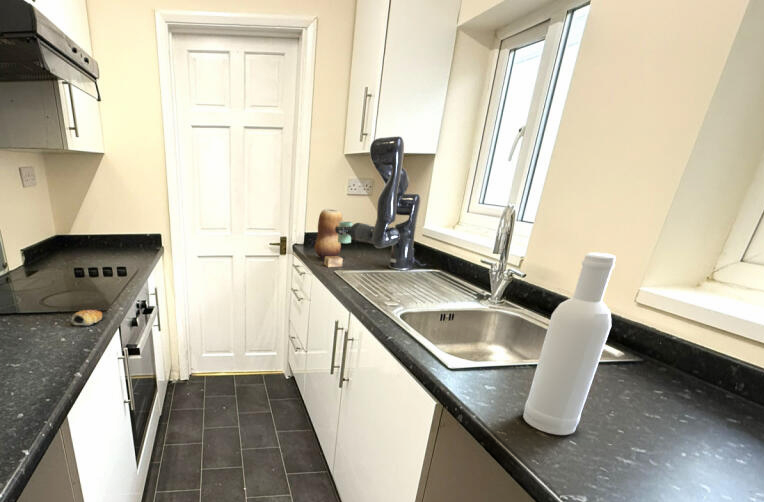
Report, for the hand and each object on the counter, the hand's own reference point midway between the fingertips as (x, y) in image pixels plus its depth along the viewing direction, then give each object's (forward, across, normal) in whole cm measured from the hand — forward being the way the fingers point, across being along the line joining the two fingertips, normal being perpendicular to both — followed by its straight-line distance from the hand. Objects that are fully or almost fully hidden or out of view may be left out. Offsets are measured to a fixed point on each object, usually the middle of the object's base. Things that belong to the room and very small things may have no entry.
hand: (342, 228), depth 191 cm
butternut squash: (+18, -3, +18) cm, 26 cm away
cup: (-2, 0, +6) cm, 6 cm away
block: (+3, +2, +18) cm, 18 cm away
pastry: (-46, +113, +18) cm, 123 cm away
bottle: (-131, +34, +18) cm, 136 cm away
